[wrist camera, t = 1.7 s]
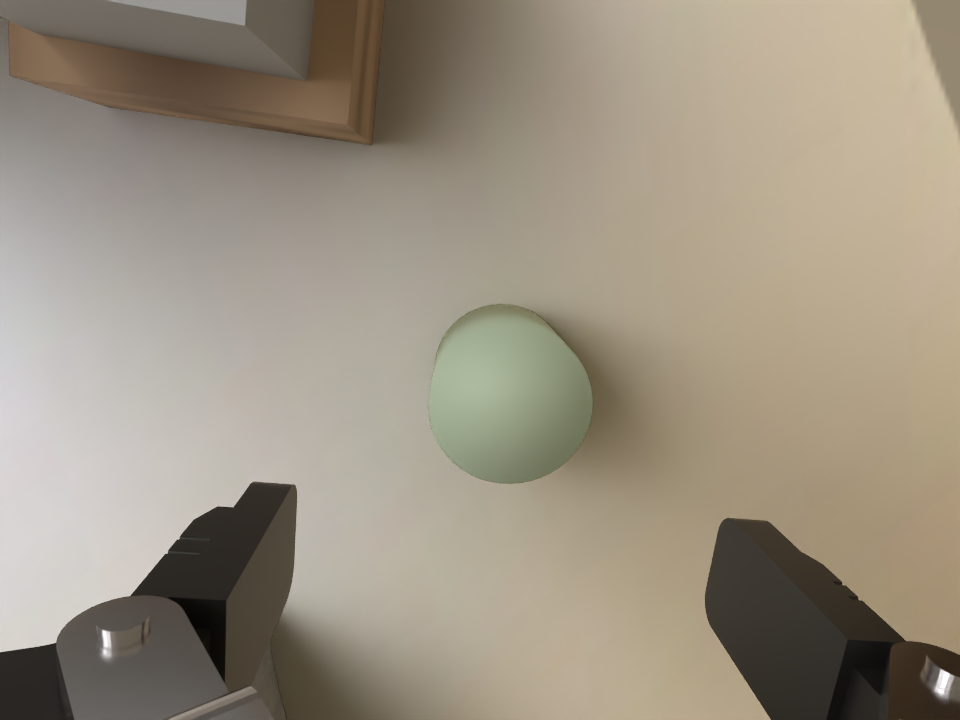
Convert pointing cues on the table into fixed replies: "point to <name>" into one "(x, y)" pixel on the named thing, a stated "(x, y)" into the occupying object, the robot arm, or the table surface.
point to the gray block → (183, 29)
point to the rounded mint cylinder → (508, 396)
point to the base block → (226, 78)
